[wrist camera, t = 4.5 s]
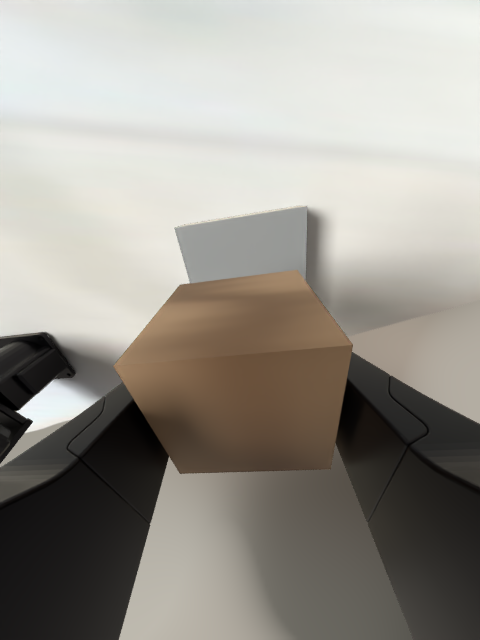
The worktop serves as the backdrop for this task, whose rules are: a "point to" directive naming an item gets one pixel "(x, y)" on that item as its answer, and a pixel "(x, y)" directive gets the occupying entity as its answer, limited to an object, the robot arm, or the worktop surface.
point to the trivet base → (245, 245)
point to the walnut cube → (241, 375)
